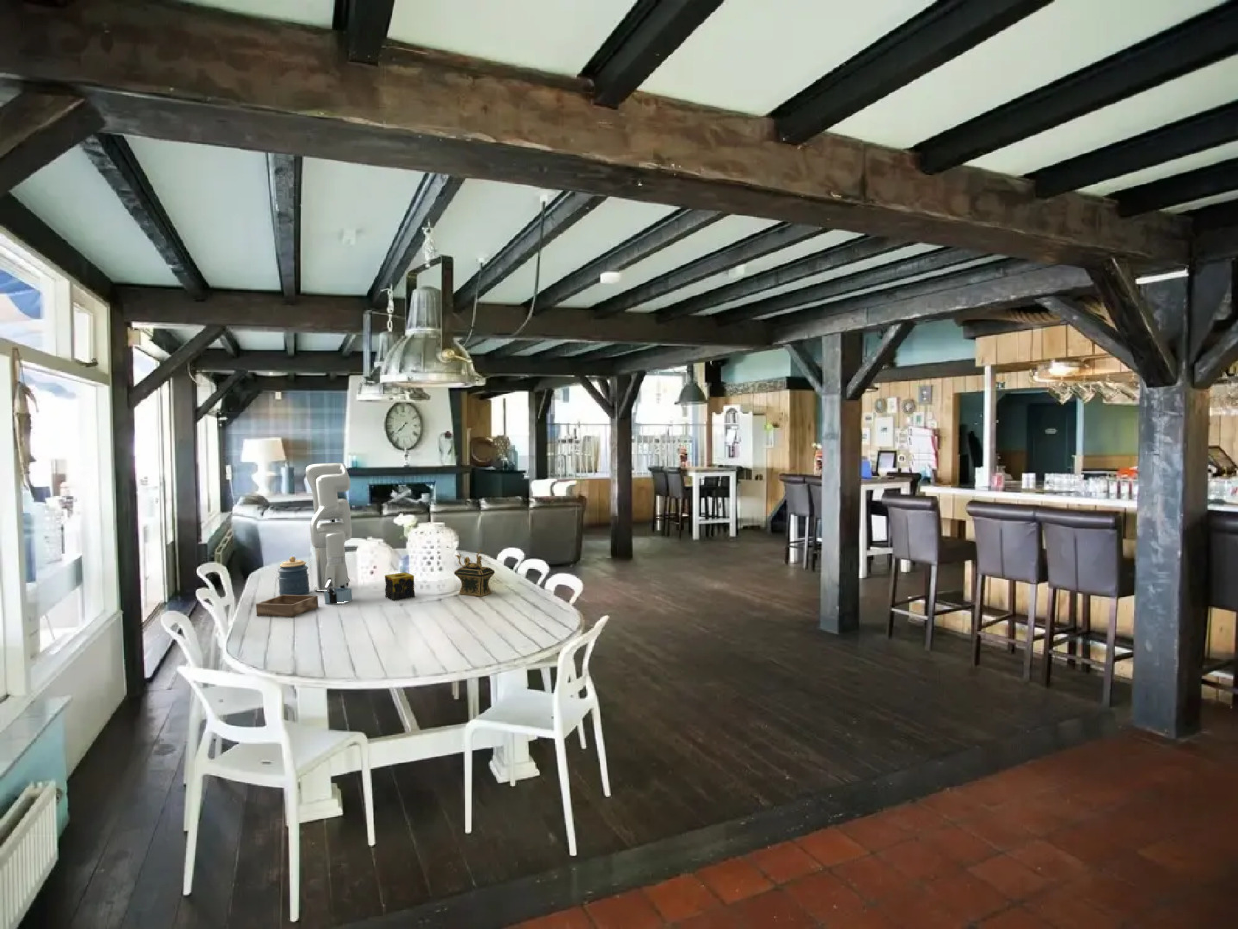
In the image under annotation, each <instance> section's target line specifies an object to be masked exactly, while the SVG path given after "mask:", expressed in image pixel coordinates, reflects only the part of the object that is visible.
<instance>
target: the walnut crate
mask: <svg viewBox="0 0 1238 929" xmlns="http://www.w3.org/2000/svg"><path fill="white" fill-rule="evenodd" d="M318 598H319V597H318V595H307V594H305V595H281V596H280V595H277V596H275V597H272V598H269V599H267V600H264V601H260V602H257V603H255V609H256V610H255V611H256V616H257V617H276V618H277V617H278V618H281V617H282V618H284V617H285V618H295V617H297V616H299V615H301V614H305V613H308V612H309V611H312V610H316V609H318V608H319V599H318Z"/></svg>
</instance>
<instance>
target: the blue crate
mask: <svg viewBox="0 0 1238 929" xmlns="http://www.w3.org/2000/svg"><path fill="white" fill-rule="evenodd" d="M332 590H333V589H332ZM352 590H353V589H352V588H351V587H347V588H336V592H335V594H336V597H337V602H344V601H350V600H352V601H353V594H352V593H353V592H352ZM323 593H324V604H326V605H334V604H333V603H330V598H329V594H328V592H327V591H324V592H323ZM350 602H351V601H350Z"/></svg>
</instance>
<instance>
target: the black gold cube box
mask: <svg viewBox="0 0 1238 929" xmlns="http://www.w3.org/2000/svg"><path fill="white" fill-rule="evenodd" d="M384 581H385V588H384V590H385V592H384V593H385V596H384V597H386V598H387V597H388V598H387V599H389V600H391V601H394V602H395V600H396V601H401V600H406V598H407V599H410V598H411V597H412V598H415V576H414V575H413V574H411V573H409V572H399V573H392V574H391V573H390V574H385V575H384ZM412 598H411V599H412Z"/></svg>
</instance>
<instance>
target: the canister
mask: <svg viewBox="0 0 1238 929" xmlns="http://www.w3.org/2000/svg"><path fill="white" fill-rule="evenodd" d="M306 564H307V562H306V561H304V560H302V559H296V557H295V556H290V557H289V560H286V561H283V562H282V563H281V564H279V569H278V570H277V573H278V578H277V579H278V589H279V590H278V593H279V596H281V595H307V594H309V593H310V581H309V580H310V579H309V573H308V570H309V566H307V565H306Z"/></svg>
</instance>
